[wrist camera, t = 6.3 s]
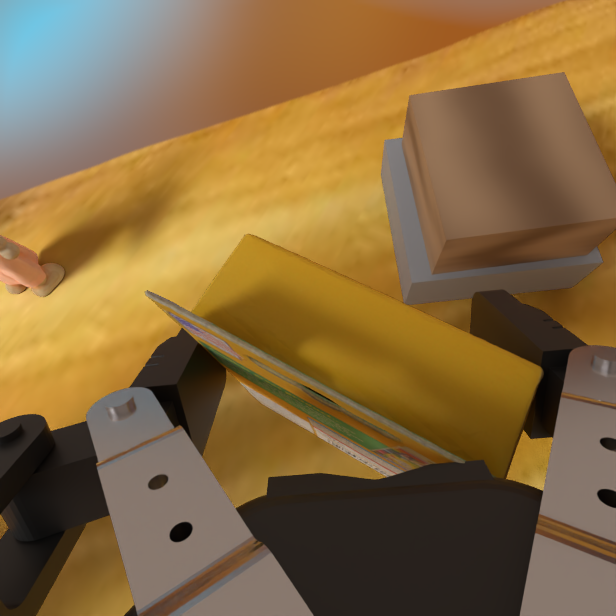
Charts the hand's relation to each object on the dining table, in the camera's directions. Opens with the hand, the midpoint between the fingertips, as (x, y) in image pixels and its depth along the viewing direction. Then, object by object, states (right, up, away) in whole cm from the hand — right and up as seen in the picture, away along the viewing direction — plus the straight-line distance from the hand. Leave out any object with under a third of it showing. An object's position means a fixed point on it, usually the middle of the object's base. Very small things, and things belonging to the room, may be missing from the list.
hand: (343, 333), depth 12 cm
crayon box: (+1, -4, +6) cm, 7 cm away
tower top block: (+10, +8, +14) cm, 19 cm away
